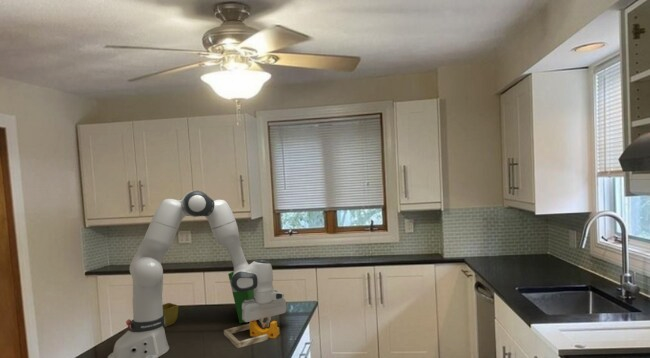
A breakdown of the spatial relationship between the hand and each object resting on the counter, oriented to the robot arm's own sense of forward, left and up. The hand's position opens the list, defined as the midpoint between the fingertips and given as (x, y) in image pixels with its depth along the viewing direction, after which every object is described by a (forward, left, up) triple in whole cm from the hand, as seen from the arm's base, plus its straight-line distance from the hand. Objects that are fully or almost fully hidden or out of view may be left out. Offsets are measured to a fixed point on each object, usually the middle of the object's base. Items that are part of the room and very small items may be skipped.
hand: (265, 327), depth 177 cm
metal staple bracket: (-9, 0, -2) cm, 10 cm away
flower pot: (-35, +39, -2) cm, 53 cm away
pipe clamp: (-2, -3, -2) cm, 4 cm away
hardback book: (+3, +22, -2) cm, 22 cm away
